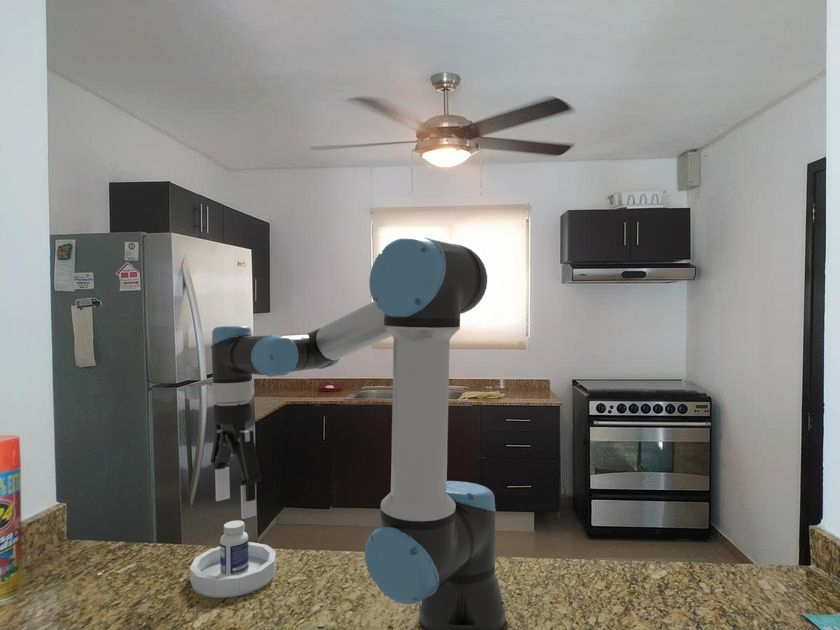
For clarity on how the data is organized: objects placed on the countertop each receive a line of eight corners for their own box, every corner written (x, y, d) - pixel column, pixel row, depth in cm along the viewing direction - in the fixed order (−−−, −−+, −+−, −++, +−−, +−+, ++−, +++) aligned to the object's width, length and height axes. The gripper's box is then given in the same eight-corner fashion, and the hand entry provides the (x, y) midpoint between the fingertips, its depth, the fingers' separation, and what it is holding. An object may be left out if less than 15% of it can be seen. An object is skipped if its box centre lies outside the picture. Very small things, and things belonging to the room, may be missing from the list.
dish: (289, 578, 108) (288, 561, 108) (208, 607, 98) (207, 588, 98) (255, 551, 121) (255, 536, 121) (180, 574, 110) (180, 557, 110)
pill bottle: (252, 566, 112) (252, 519, 112) (241, 579, 106) (241, 529, 106) (227, 565, 112) (227, 518, 112) (215, 578, 107) (215, 528, 107)
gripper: (277, 407, 102) (280, 519, 102) (228, 394, 121) (230, 489, 121) (238, 412, 97) (241, 530, 97) (193, 398, 116) (195, 497, 116)
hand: (235, 507), depth 109 cm, fingers open, 13 cm apart
